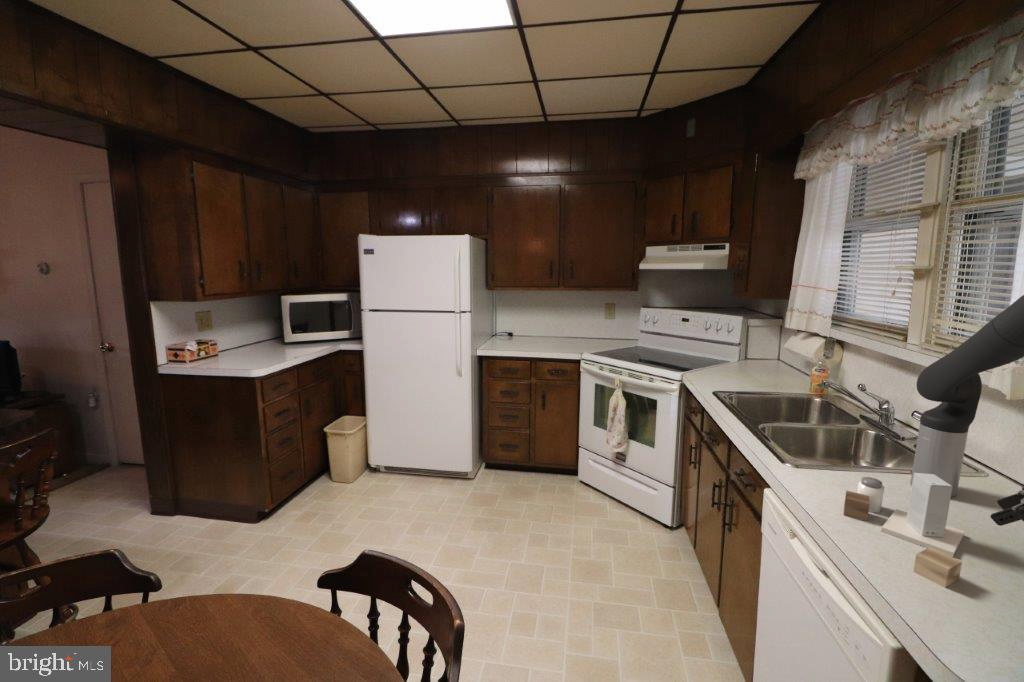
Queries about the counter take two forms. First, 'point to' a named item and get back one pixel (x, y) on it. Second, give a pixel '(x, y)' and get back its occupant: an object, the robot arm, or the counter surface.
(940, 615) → the counter surface
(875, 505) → the white jar
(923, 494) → the skincare box
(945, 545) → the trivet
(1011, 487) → the counter surface
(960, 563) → the oak block
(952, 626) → the counter surface
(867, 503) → the walnut block
